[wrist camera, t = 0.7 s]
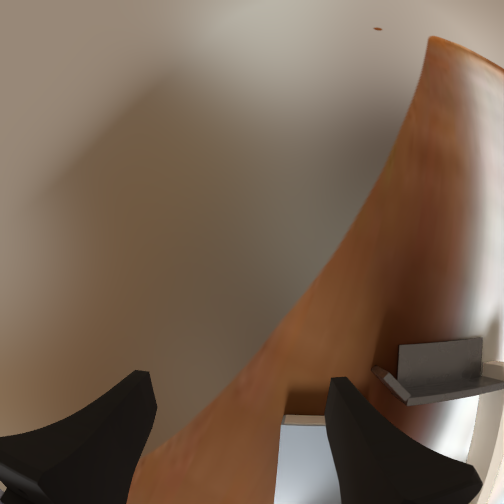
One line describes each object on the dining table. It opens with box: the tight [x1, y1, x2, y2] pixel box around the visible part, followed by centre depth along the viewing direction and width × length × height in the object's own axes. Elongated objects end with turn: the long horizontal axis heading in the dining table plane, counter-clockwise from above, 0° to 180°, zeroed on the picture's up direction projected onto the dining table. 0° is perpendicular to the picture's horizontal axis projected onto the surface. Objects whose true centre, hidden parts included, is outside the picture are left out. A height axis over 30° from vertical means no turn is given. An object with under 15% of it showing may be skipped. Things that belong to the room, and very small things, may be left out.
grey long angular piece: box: [371, 338, 504, 406], centre depth 27 cm, size 6×16×6 cm, turn 87°
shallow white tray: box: [466, 361, 504, 504], centre depth 24 cm, size 22×18×6 cm
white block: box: [274, 415, 341, 504], centre depth 28 cm, size 12×9×4 cm
